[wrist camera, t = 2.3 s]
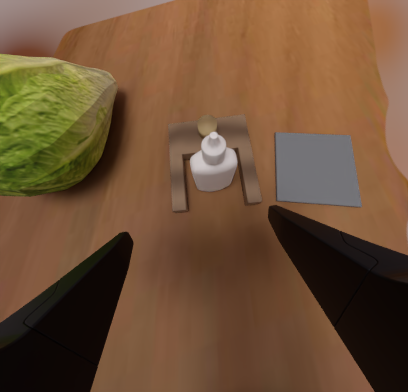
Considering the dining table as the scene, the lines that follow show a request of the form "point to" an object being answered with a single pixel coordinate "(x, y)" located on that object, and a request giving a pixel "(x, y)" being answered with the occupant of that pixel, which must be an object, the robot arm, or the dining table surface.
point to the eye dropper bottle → (213, 164)
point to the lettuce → (51, 123)
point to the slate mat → (316, 169)
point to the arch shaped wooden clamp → (191, 143)
